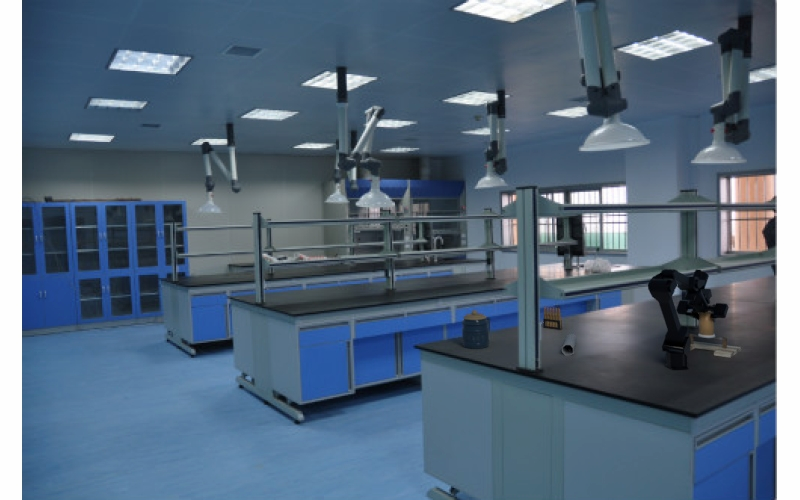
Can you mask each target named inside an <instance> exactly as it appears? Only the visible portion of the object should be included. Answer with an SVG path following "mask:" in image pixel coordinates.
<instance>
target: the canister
mask: <svg viewBox="0 0 800 500" xmlns="http://www.w3.org/2000/svg"><path fill="white" fill-rule="evenodd" d="M462 319H463V320H462V321H461V324H462V328H461V330H462V340H461V342H462V346H463V347H464V348H465V349H473V350H475V349H477V350H479V349H485V348H487V347H490V338H489V337H490V334H489V331H490V330H489V329H490V328H489V327H488V324H489V320H487V315H484V313H481V312H480V313H478V310H476V309H473V310H472V311H471V313H467V314H465V315H464V316H463V317H462Z"/></svg>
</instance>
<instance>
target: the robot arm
mask: <svg viewBox="0 0 800 500" xmlns="http://www.w3.org/2000/svg"><path fill="white" fill-rule="evenodd" d="M692 273H693V274H692V276H688V275H685V274H684V273H682V272H680V271H678V269H674V268H673V269H671V268H664V269H662V270H661V271H660V272H659V273H657V274H655V275H653V276H652V277H651V279H650V280H649V281H648V283H647V290H648V291H649V294H650V296H651V297H652V298H653V299H654V300H656V301H657V302H658V304H659V305H658V306H659V307H660V311H661V314H662V317H663V320H664V323H665V325H666V329H667V331H666V332H665V336H664V340H663V342H662V345H661V349H662V352H666V353H665V354H666V356H665V357H666V363H664V367H666V368H669V369H671V370H673V371H675V370H689V369H690V367H689V366H688V365H689V364H688V363H689V362H688V355H687V354H689V353H691V351H690V347H691V338H690V334H691V333H690V332H689V328H688V327H687V326H684V325H683V326H682V325H681V322H680V319H679V315H685V316H688V317H691V318H693V319H695V320H698V321H699V313H706V312H708V311H710V312H711V315H710V318H711V320H712V321H713V322H714V323H716V320H717V319H726V318H727V315H728V311H729V304H728V303H725V302H717V303H715V304H712V305H711V300H710V299H711V298H712V297H713V294H712V289H711V288H706V285H707V282H708V280H709V277H710V275H709V273H707V272H705V271H704V270H703V271H702V269H695V270H694V272H692ZM677 288H678V289H679V290H680V291H685V296H684V299H680V300H679V301H678V303H677V306H675V302H674V300H673V295H674V293H675V292H676V289H677ZM676 347H680V348H676ZM682 348H683V349H682Z"/></svg>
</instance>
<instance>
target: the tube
mask: <svg viewBox="0 0 800 500" xmlns="http://www.w3.org/2000/svg"><path fill="white" fill-rule="evenodd" d="M576 344H577V336H576V335H575V334H574V333H568V335H566V336H565V339H564V342H563V345H562V346H561V352H562V354H563V355H564V356H572V355H573V354H574V353H575V348H576Z"/></svg>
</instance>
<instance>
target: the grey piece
mask: <svg viewBox="0 0 800 500" xmlns="http://www.w3.org/2000/svg"><path fill="white" fill-rule="evenodd" d="M689 334H690V335H689V336H690V338H691V347H690V352H691V351H693V350H694V349H700V350H707V351H713V356H717V357H724V358H732V357H734V356H735V355H737V354H738V353H740V352H741V351H742V348H741V346H736V345H735V346H733V345H728V340H727V339H728V338H727V337H724V336H723V337H721V336H715V337H714V338H706V339H708V340H716V341H722V344H717V343H709V342H702V341H695V339H694V338H700V339H703V338H702V337H699V336H698V334H695V333H689ZM676 348H680V347H676ZM682 349H683V348H682Z"/></svg>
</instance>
